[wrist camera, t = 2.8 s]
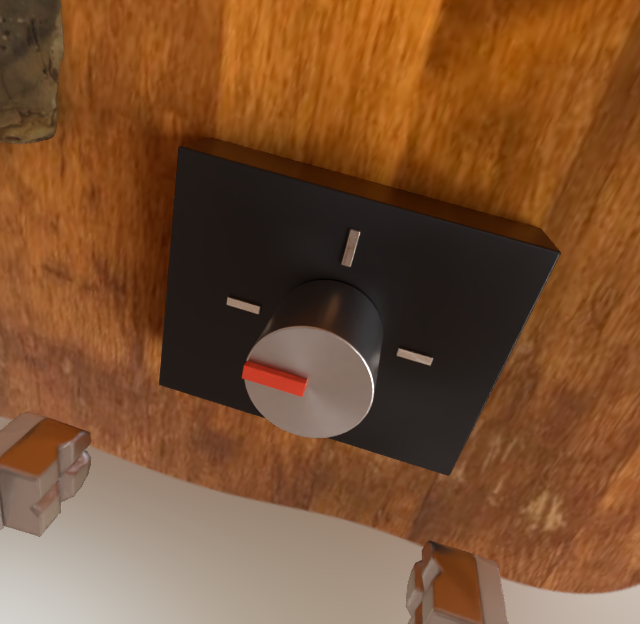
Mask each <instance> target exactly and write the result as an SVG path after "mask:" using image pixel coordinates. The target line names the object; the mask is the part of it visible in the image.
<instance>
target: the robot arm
mask: <svg viewBox="0 0 640 624" xmlns="http://www.w3.org/2000/svg"><path fill="white" fill-rule="evenodd" d="M90 444H91V438H90V433H89V432H87V431H85V430H82V429H79V428H76V427H74V426H71V425H68V424H65V423H62V422H59V421H57V420H54V419H51V418H48V417H45V416H42V415H39V414H36V413H33V412H30V411H28V412H25V413H22V414H20V415H19V416H18V417H16V418H15V419H14V420H13V421H12V422H10V423H9V424H8V425H7V426H6V427H5V428H3V429H2V430H1V431H0V530H1V529H3V528H4V526H6V527H10V528H13V529H16V530H20V531H23V532H26V533H30V534H33V535H36V536H39V537H40V536H41V535H42V534H43V533H44V532H45V530H46V529H47V528H48V527H49V526H50V524H51V523H52V522H53V521H54V520H55V518H56V517H57V516H58V514H60V512H61V502H63V501H65V500H67V499H69V498H72V497H74V495H75V494H76V493H77V492H78V490H79V489H80V488H81V487H82V485H83V483H84V481H85V479H86V477H87V476H88V473H89V469H90V465H91V457H90V455H89V454H88V453H87V451H86V448H87V447H88V446H89V445H90ZM406 608H407V609H408V611H409V613H410V615H411V619H410V620H409V623H408V624H508V619H507V613H506V607H505V601H504V597H503V590H502V584H501V579H500V573H499V567H498V565H497V564H496V562H495V561H492V560H489V559H486V558H483V557H479V556H476V555H472V554H471V553H468V552H465V551H462V550H458V549H455V548H452V547H448V546H445V545H442V544H439V543H435V542H432V541H428V542H427V543H426V544H425V546H424V547H423V550H422V560H421V561H419V562H416V563H415V565H414V567H413V569H412V571H411V574H410V578H409V581H408V586H407V596H406Z"/></svg>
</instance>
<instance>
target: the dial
mask: <svg viewBox="0 0 640 624" xmlns="http://www.w3.org/2000/svg"><path fill="white" fill-rule="evenodd" d="M382 339H383V327H382V322H381V318H380V316H379V313H378V311H377V309H376V308H375V306H374V305H373V303H372V302H371V301H370V300H369V299H368V298H367V297H366V296H365V295H364V294H363V293H362V292H360V291H359V290H357V289H356V288H354V287H352V286H350V285H347V284H345V283H342V282H338V281H332V280H316V281H311V282H307V283H304V284H302V285H300V286H298V287H296V288H295V289H293V290H292V291H291V292H289V293H288V294H287V295H286V297H285V298H284V299H283V300H282V302H281V303H280V305H279V307H278V308H277V310H276V311H275V313H274V314H273V316H272V318H271V319H270V321H269V322H268V324H267V326H266V327H265V329H264V330H263V332H262V333H261V335H260V337H259V338H258V340H257V341H256V343H255V344H254V346H253V348H252V349H251V351H250V353H249V355H248V357H247V360H246V363H245V364H244V368H243V373H242V379H245V385H246V389H247V392H248V395H249V397H250V399H251V401H252V402H253V404H254V405H255V407H256V408H257V409H258V411H259V412H260V413H261V414H262V415H263V416H264V417H265V418H266V419H267V420H269V421H270V422H271V423H272V424H274V425H276V426H277V427H279V428H281V429H283V430H285V431H287V432H289V433H292V434H295V435H299V436H303V437H309V438H327V437H333V436H337V435H340V434H343V433H345V432H347V431H349V430H351V429H352V428H354V427H355V426H356V425H358V424H359V423H360V422H361V421H362V420H363V419H364V418H365V417H366V415H367V413H368V412H369V410H370V408H371V406H372V403H373V399H374V394H375V387H376V380H377V374H378V367H379V360H380V353H381V346H382Z"/></svg>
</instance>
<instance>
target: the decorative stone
mask: <svg viewBox="0 0 640 624" xmlns="http://www.w3.org/2000/svg"><path fill="white" fill-rule="evenodd" d="M60 9H61V3H60V0H0V142H3V143H15V144H26V143H35V142H39V141H43V140H47V139H50V138H52V137H53V136H54V134H55V131H56V125H57V92H58V84H59V83H58V74H59V66H60V63H61V60H62V58H63V53H64V42H63V26H62V19H61V11H60Z"/></svg>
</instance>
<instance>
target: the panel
mask: <svg viewBox="0 0 640 624" xmlns="http://www.w3.org/2000/svg"><path fill="white" fill-rule="evenodd" d="M560 254H561V252H560V251H559V250H558V248H557V247H556V246H555V245H554V244H553V242H552V241H551V240H550V239H549V238H548V236H547V235H546V234H545V233H544V232H543V230H542V229H540V228H537V227H533V226H530V225H526V224H522V223H519V222H515V221H511V220H508V219H504V218H501V217H497V216H493V215H490V214H486V213H482V212H479V211H475V210H472V209H468V208H464V207H461V206H457V205H453V204H450V203H446V202H442V201H439V200H435V199H432V198H428V197H424V196H421V195H417V194H413V193H410V192H406V191H403V190H399V189H395V188H392V187H388V186H384V185H381V184H377V183H373V182H370V181H366V180H363V179H359V178H355V177H352V176H348V175H344V174H341V173H337V172H334V171H330V170H326V169H323V168H319V167H315V166H312V165H308V164H305V163H301V162H297V161H294V160H290V159H286V158H283V157H279V156H275V155H272V154H268V153H265V152H261V151H257V150H254V149H250V148H246V147H243V146H239V145H236V144H232V143H228V142H225V141H221V140H217V139H214V138H209V139H205V140H201V141H197V142H193V143H190V144H186V145H182V146H179V149H178V161H177V173H176V185H175V197H174V209H173V222H172V234H171V246H170V258H169V270H168V282H167V294H166V306H165V318H164V331H163V343H162V355H161V367H160V379H159V385H161V386H164V387H167V388H171V389H174V390H177V391H180V392H183V393H187V394H190V395H193V396H196V397H199V398H202V399H206V400H209V401H212V402H215V403H218V404H222V405H225V406H228V407H231V408H234V409H237V410H241V411H244V412H247V413H250V414H253V415H257V416H260V417H263V418H265V417H264V416H263V415H262V414H261V413H260V412H259V411H258V409H257V408H256V407H255V405H254V404H253V402H252V401H251V399H250V397H249V395H248V392H247V389H246V385H245V379H242V373H243V368H244V364H245V363H246V360H247V357H248V355H249V353H250V351H251V349H252V348H253V346H254V344H255V343H256V341H257V340H258V338H259V337H260V335H261V333H262V332H263V330H264V329H265V327H266V326H267V324H268V322H269V321H270V319H271V318H272V316H273V314H274V313H275V311H276V310H277V308H278V307H279V305H280V303H281V302H282V300H283V299H284V298H285V297H286V295H287V294H288V293H289V292H291V291H292V290H293V289H295V288H296V287H298V286H300V285H302V284H304V283H307V282H311V281H316V280H332V281H338V282H342V283H345V284H347V285H350V286H352V287H354V288H356V289H357V290H359V291H360V292H362V293H363V294H364V295H365V296H366V297H367V298H368V299H369V300H370V301H371V302H372V303H373V305H374V306H375V308H376V309H377V311H378V313H379V316H380V318H381V322H382V327H383V339H382V346H381V353H380V360H379V367H378V374H377V380H376V387H375V394H374V399H373V403H372V406H371V408H370V410H369V412H368V413H367V415H366V417H365V418H364V419H363V420H362V421H361V422H360V423H359V424H358V425H356V426H355V427H354V428H352V429H351V430H349V431H347V432H345V433H343V434H340V435H337V436H333V437H327V438H330V439H333V440H336V441H339V442H343V443H346V444H349V445H352V446H355V447H358V448H362V449H365V450H368V451H371V452H374V453H378V454H381V455H384V456H387V457H390V458H393V459H397V460H400V461H403V462H406V463H409V464H413V465H416V466H419V467H422V468H425V469H428V470H432V471H435V472H438V473H441V474H444V475H448V476H449V475H450V474H451V472H452V470H453V468H454V466H455V464H456V462H457V460H458V458H459V456H460V454H461V452H462V450H463V448H464V446H465V444H466V442H467V440H468V438H469V436H470V434H471V432H472V430H473V428H474V426H475V424H476V422H477V420H478V418H479V416H480V414H481V412H482V410H483V408H484V406H485V404H486V402H487V400H488V398H489V396H490V394H491V392H492V390H493V388H494V386H495V384H496V382H497V380H498V378H499V376H500V374H501V372H502V370H503V368H504V366H505V364H506V362H507V360H508V358H509V356H510V354H511V352H512V350H513V348H514V346H515V344H516V342H517V340H518V338H519V336H520V334H521V332H522V330H523V328H524V326H525V324H526V322H527V320H528V318H529V316H530V314H531V312H532V310H533V308H534V306H535V304H536V302H537V300H538V298H539V296H540V294H541V292H542V290H543V288H544V286H545V284H546V282H547V280H548V278H549V276H550V274H551V272H552V270H553V268H554V266H555V264H556V262H557V260H558V258H559V256H560Z"/></svg>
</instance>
